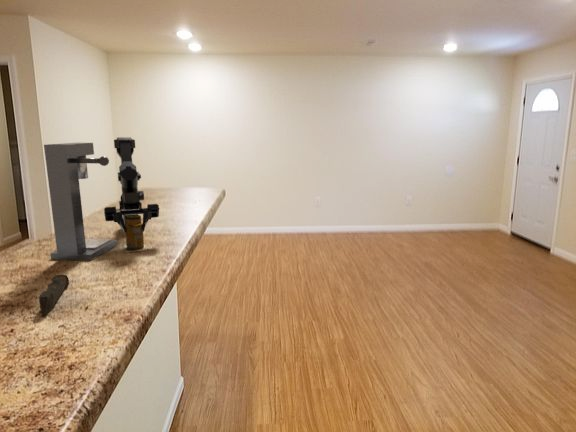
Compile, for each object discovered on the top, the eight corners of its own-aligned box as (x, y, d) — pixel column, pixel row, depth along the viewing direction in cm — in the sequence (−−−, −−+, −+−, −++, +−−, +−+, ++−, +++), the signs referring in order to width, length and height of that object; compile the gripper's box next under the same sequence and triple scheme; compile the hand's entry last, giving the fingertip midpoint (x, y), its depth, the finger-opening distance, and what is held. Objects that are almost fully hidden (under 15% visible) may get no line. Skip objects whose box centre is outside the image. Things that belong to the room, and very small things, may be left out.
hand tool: (54, 287, 112) (52, 272, 111) (69, 286, 113) (68, 271, 112) (30, 319, 94) (27, 301, 93) (49, 317, 95) (46, 299, 94)
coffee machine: (81, 243, 152) (70, 142, 144) (139, 245, 151) (131, 142, 142) (48, 260, 133) (33, 144, 125) (113, 262, 132) (102, 145, 123)
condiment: (144, 244, 152) (142, 213, 150) (147, 250, 145) (144, 218, 142) (123, 246, 149) (121, 215, 147) (125, 252, 142) (122, 219, 139)
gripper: (101, 185, 142) (104, 222, 134) (156, 182, 149) (162, 217, 142) (104, 202, 151) (106, 238, 143) (156, 199, 158) (161, 233, 151)
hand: (134, 231), depth 144 cm, fingers closed on condiment, 6 cm apart
